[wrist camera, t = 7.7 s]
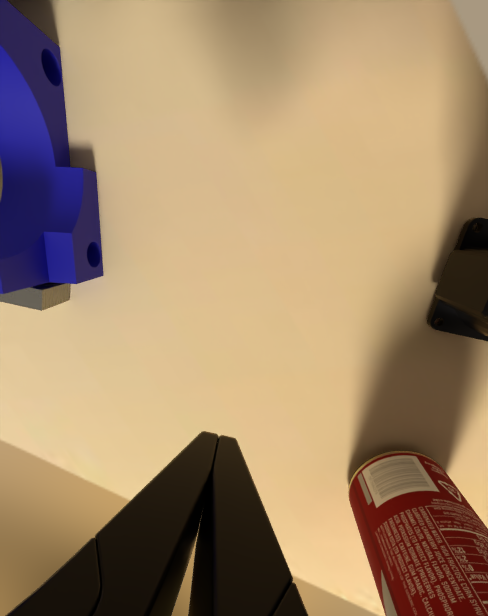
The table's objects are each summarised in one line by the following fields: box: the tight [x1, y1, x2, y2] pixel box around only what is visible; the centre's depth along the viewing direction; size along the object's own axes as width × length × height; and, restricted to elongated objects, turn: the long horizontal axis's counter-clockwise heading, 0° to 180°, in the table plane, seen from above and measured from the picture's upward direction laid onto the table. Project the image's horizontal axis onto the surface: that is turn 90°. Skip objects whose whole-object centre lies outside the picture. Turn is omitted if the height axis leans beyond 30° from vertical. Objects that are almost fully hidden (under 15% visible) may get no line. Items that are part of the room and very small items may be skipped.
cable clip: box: [0, 0, 103, 294], centre depth 15 cm, size 12×4×6 cm, turn 177°
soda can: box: [349, 451, 488, 616], centre depth 16 cm, size 7×7×12 cm
